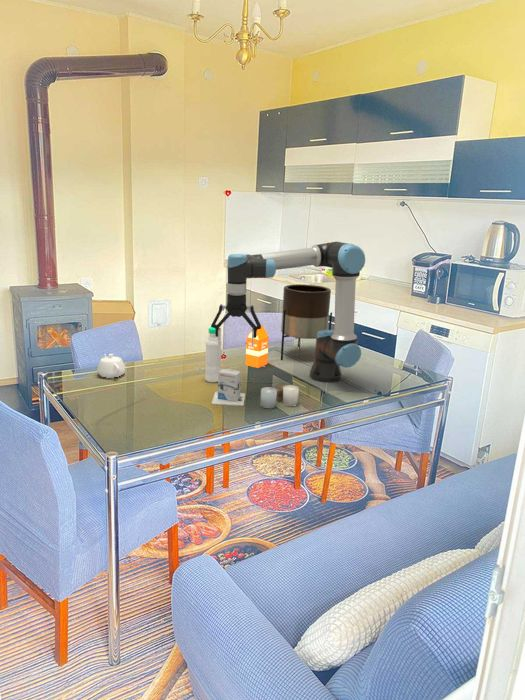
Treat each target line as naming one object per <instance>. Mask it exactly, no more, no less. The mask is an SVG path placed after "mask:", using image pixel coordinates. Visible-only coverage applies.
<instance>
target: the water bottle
mask: <svg viewBox="0 0 525 700" xmlns="http://www.w3.org/2000/svg"><path fill="white" fill-rule="evenodd" d="M208 335H209V336H207V340H206V341H205V369H204V371H205V375H204V378H205V381H206V382H208V383H218V372H219V371H220V370H222V368H221V367H222V366H221V364H222V363H221V361H222V343H221V344H220V345H218V337H216V330H215V328H212V327H211V326H209V327H208Z"/></svg>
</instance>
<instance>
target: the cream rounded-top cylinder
mask: <svg viewBox="0 0 525 700" xmlns="http://www.w3.org/2000/svg"><path fill="white" fill-rule="evenodd" d="M283 386H284V387H283V401H281V402H282V403H281V404H282V405H283V404H285V405H288V406H287V407H290V406H293V407H295V406H294V405H297V404H299V391H300V388H299V386H296V385H292V384H286V385H283ZM285 405H284V406H285ZM297 406H298V405H297Z"/></svg>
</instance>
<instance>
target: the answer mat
mask: <svg viewBox="0 0 525 700" xmlns="http://www.w3.org/2000/svg"><path fill="white" fill-rule="evenodd" d="M245 399H246V393H243V392H240V399H238V400H237V401H231V400H225V399H219V398H218V391H215V392H214V395H213V398H212V400H211V406H227V407H228V406H229V407H230V406H231V407H244V405H245Z"/></svg>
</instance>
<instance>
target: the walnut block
mask: <svg viewBox="0 0 525 700" xmlns="http://www.w3.org/2000/svg"><path fill="white" fill-rule="evenodd" d="M284 386H285V385H277V386H272V388H275V389H276V390H277V396H276V402H277V401H280V402H283V387H284Z"/></svg>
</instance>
